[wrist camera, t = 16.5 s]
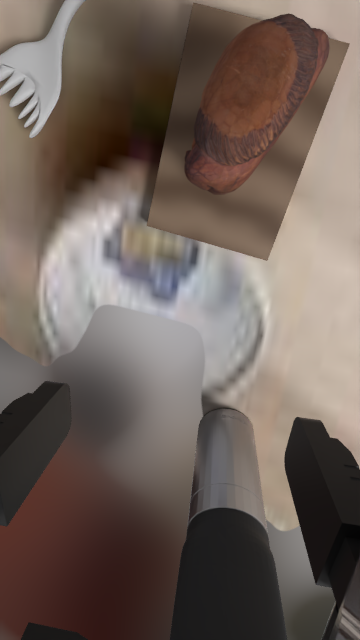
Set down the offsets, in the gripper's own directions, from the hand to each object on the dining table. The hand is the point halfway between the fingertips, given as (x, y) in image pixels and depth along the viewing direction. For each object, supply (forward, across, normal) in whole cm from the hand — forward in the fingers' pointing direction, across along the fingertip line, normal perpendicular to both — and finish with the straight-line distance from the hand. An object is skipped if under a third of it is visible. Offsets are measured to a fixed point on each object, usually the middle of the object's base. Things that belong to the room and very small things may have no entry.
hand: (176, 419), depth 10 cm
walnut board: (+32, -2, -14) cm, 35 cm away
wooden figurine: (+30, -2, -14) cm, 33 cm away
